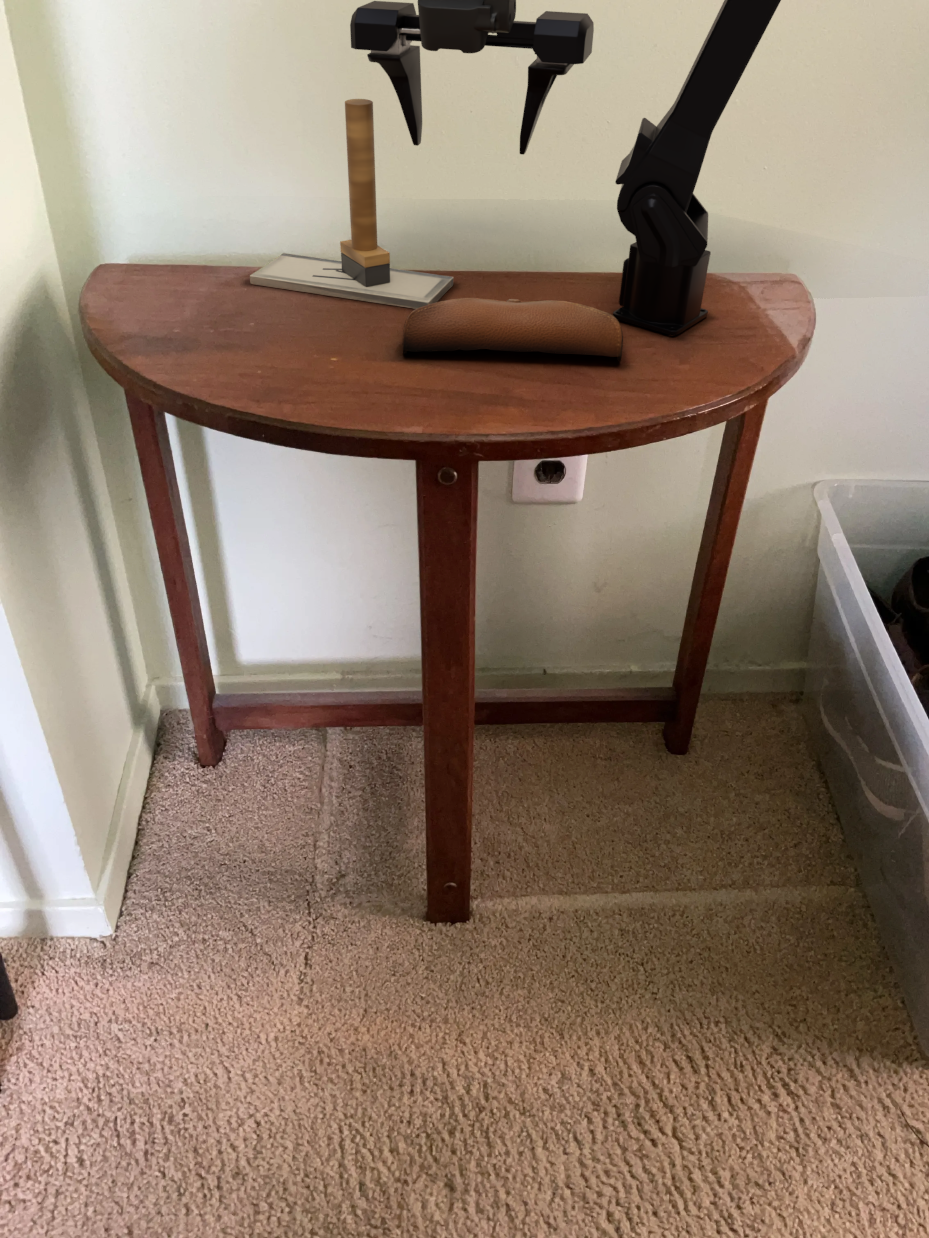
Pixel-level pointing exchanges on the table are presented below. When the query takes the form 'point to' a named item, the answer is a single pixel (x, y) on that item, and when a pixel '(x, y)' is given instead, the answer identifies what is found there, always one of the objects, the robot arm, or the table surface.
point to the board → (350, 282)
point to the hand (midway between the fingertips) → (469, 149)
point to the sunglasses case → (513, 327)
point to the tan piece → (362, 200)
